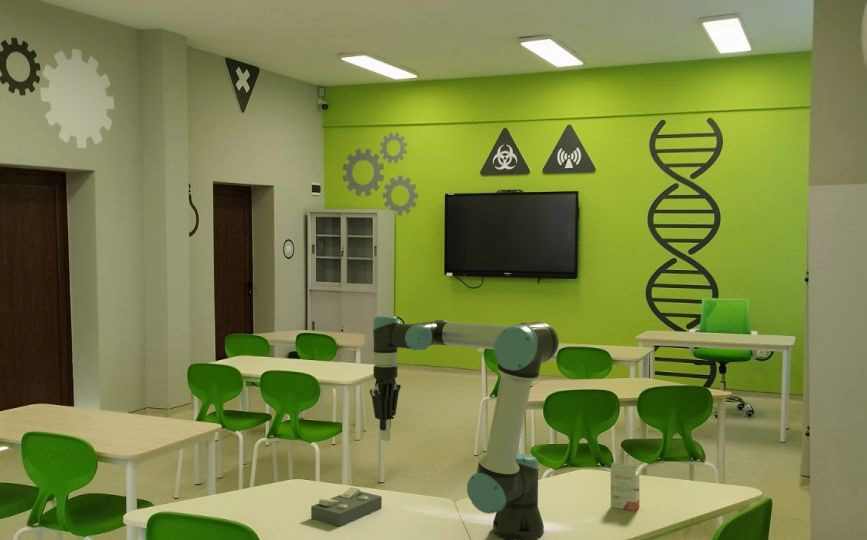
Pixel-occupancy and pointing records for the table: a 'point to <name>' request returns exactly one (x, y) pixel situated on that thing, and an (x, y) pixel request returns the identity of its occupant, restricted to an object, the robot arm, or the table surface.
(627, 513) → the table surface
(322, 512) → the switch panel
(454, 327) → the robot arm
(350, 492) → the rocker
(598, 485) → the table surface
